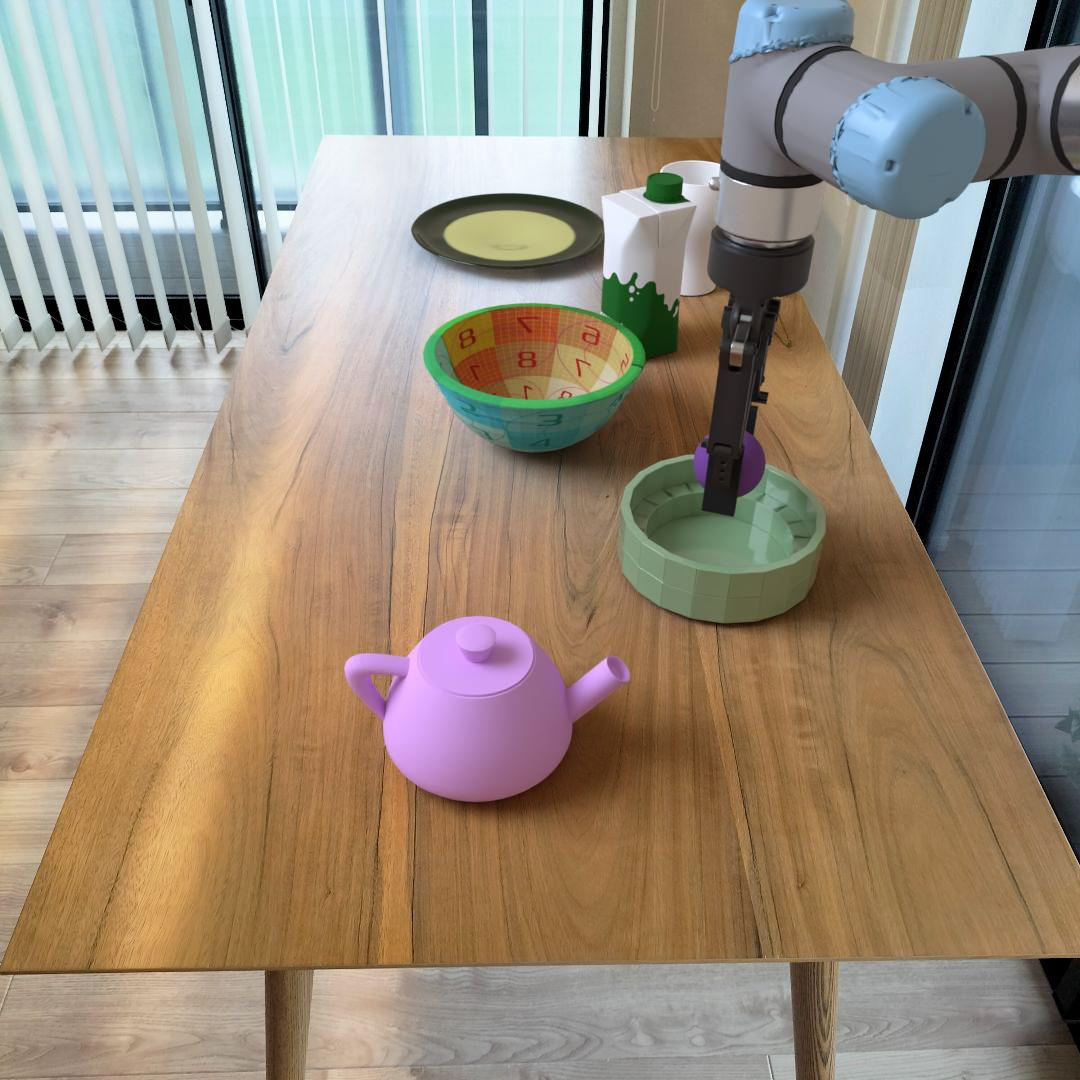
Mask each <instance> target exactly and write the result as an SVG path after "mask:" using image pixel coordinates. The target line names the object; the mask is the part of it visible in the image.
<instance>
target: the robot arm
mask: <svg viewBox="0 0 1080 1080" xmlns="http://www.w3.org/2000/svg"><path fill="white" fill-rule="evenodd" d="M855 15H856V14H855V11H854V8H853V7H852V6H851V4H850V3H849V2H848V0H745V2H744V3H743V4H742V5H741V7H740V10H739V12H738V17H737V22H736V28H735V29H736V30H735V35H734V42H733V49H732V53H731V55H729V59H728V64H729V70H728V80H727V89H726V99H725V109H724V117H723V128H722V138H721V146H720V147H721V148H720V161H719V164H720V170H719V177H712V178H711V180H710V182H709V187H710V189H711V190H714V191H719V194H718V196H717V197H716V204H715V213H714V221H715V223H716V224H717V225H716V226H715V227H714V228H713V230H712V232H711V239H710V247H709V256H708V264H707V273H708V276H709V278H710V279H711V281H712V282H713V283H714V284H716V287H718V288H720V289H722V290H725V291H727V292H728V293H729V296H728V301H727V305H724V307H723V310H722V315H721V321H720V327H721V330H722V335H721V341H720V342H719V344H718V350H719V353H718V369H717V376H716V383H715V392H714V396H713V397H714V398H713V404H712V413H711V419H710V426H709V433H708V434H709V439H706V438H705V437H703V438H702V439H701V441H700V442H701V447H703V448H706V449H707V450H706V452H707V454H709V457H708V465H707V472H706V480H705V488H704V495H703V503H702V510H701V511H706V512H711V513H716V514H721V515H726V516H731V517H734V514H735V509H736V503H737V496H738V490H739V483H740V477H741V471H742V464H743V458H744V451H745V446H744V443H743V441H744V436H745V431H747V432H748V433H750V434H751V435H753V436H754V437H755V430H756V424H757V417H758V412H759V411H758V410H759V405H752V404H753V403H756V404H761V405H767V403H768V399H769V394H770V393H769V391H765V390H764V391H763V390H761V387H763V384H764V383H765V380H766V376H765V371H766V365H767V358H768V352H769V347H770V346H771V344H772V341H773V337H774V333H775V328H776V327H775V326H776V323H777V322H778V319H779V315H780V312H781V305H782V299H780V298H784V297H788V296H791V295H794V294H796V293H797V292H799V291H801V290H802V289H803V288H804V287H805V286H806V284H807V283H808V280H809V278H810V277H809V276H810V272H811V267H812V260H813V254H814V249H815V243H816V240H815V238H814V236H813V235H814V234H815V233H816V232H817V231H818V229H819V224H820V220H821V214H822V208H823V203H824V197H825V193H826V187H827V184H828V185H831V186H832V187H834V188H835V189H836V190H838V191H840V192H842V193H843V194H845V195H847V196H848V197H849V199H851V200H852V201H855V202H856V203H857V204H859V205H861V206H867V208H869V209H871V210H874V211H878V212H879V211H880V212H882V213H885V214H887V215H890V216H891V217H894V218H897V219H901V220H919V219H925V218H928V217H930V216H933V215H935V214H937V213H938V212H939V211H940V209H941V208H943V207H944V206H945V205H947V204H949V203H952V202H954V201H955V200H957V199H958V198H959V197H960V196H961V195H962V194H963V193H964V191H965V190H966V189H967V188H968V187H969V185H970V184H975V183H982V182H988V181H990V180H998V179H1005V178H1006V179H1007V178H1015V177H1023V176H1025V177H1026V176H1033V175H1034V176H1035V175H1036V176H1037V175H1038V176H1039V175H1041V176H1042V175H1047V176H1048V175H1049V176H1068V177H1069V176H1072V177H1073V176H1075V177H1076V176H1077V177H1080V42H1077V43H1070V44H1059V45H1056V46H1055V45H1054V46H1052V47H1045V48H1035V49H1028V50H1021V51H1020V50H1019V51H1011V52H1005V53H997V54H989V55H987V54H984V55H983V54H980V55H975V56H965V57H964V56H963V57H954V58H946V59H945V58H944V59H935V60H927V61H917V62H908V63H907V62H906V63H894V62H887V61H884V60H882V59H879V58H876V57H873V56H869V55H867V54H864V53H862V52H860V51H859V50H857V49H854V48H852V47H851V46H852V44H853V42H854V39H855V35H854V25H855Z"/></svg>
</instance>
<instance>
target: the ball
mask: <svg viewBox="0 0 1080 1080" xmlns="http://www.w3.org/2000/svg"><path fill="white" fill-rule="evenodd" d="M704 438H706V439H709V433H708V434H707V435H706V436H704ZM743 443H744V446H745V451H744V458H743V464H742V471H741V477H740V483H739V490H738V496H737V498H738V497H741V496H744V495H746V494H748V493H749V492H751V491H752V490H753V489H754V488H755V487H756V486H757V485H758V484H759V482H760V481H761V479H762V477H763V474H764V471H765V464H767V463H766V455H765V451H764V449H763V446H762V445H761V443H760V441H758V438H756V437H755V435H754V436H753V435H751V434H750V433H748V432H747V431H745V436H744V441H743ZM706 450H707V449H706V448H703V447H701V441H700V442H699V443H698V445H697V447H696V449H695V452H694V454H695V455H694V454H693V455H694V463H693V466H694V472H695V475H696V478H697V480H698V482H699V483H700V484H701V486H702V487H703V488H705V480H706V472H707V465H708V457H709V454H707V452H706Z"/></svg>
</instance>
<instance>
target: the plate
mask: <svg viewBox="0 0 1080 1080" xmlns="http://www.w3.org/2000/svg"><path fill="white" fill-rule="evenodd" d="M410 233H411V236H412V238H413V239H414V241H415V242H416V244H418V245H419V246H420V247H421V248H422V249H424V250H425V251H426V252H429V253H430V254H432V255H434V256H437V257H438V258H441V259H444V260H447V261H450V262H454V263H456V264H460V265H464V266H469V267H473V268H479V269H489V270H498V271H499V270H500V271H503V270H504V271H522V270H536V269H542V268H549V267H554V266H558V265H562V264H566V263H569V262H572V261H575V260H578V259H581V258H583V257H586V256H588V255H590V254H591V253H593V252H595V251H596V250H598V249H599V248H601V246H602V245H603V243H605V232H604V220H603V218H602V217H601V216H599V215H598V214H597V213H596V212H594V211H592V210H591V209H589V208H587V207H586V206H583V205H581V204H578V203H575V202H573V201H570V200H566V199H562V198H559V197H553V196H548V195H541V194H533V193H521V192H499V193H495V192H494V193H483V194H475V195H474V194H473V195H468V196H462V197H458V198H453V199H450V200H447V201H445V202H441V203H439V204H436V205H435V206H433V207H432V206H431V207H430V208H428V209H427V210H424V211H423V212H422V213H420V214H419V215H418V216H417V217H416V219H415V220H414V221H413V223H412V224H411V227H410Z"/></svg>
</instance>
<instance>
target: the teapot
mask: <svg viewBox="0 0 1080 1080" xmlns="http://www.w3.org/2000/svg"><path fill="white" fill-rule="evenodd" d="M343 671H344V676H345V679H346V682H347V684H348V685H349V688H350V689H351V690H352V693H354V695H356V697H358V699H359V700H360V701H361V702H362V703H363V704H364V705H365V706H366V707H367V708H368V709H369V710H370V711H372V712H373V714H374V715H376V716H377V717H378V718H379V719H380V720H381V721H382V729H383V731H382V732H383V741H384V745H385V748H386V751H387V754H388V755H389V757H390V760H391V761H392V763H393V764H394V765H395V767H396V768H397V769H398V771H399V772H400V773H401V774H402V775H403V776H404V777H405V778H406V779H407V780H408V781H410V782H411V783H412V784H414V785H415V786H416V787H419V788H420V789H422V790H424V791H426V792H429V793H430V794H433V795H436V796H438V797H441V798H445V799H448V800H453V801H458V802H459V801H460V802H466V803H468V802H469V803H470V802H471V803H483V802H484V803H485V802H492V801H498V800H503V799H506V798H507V799H508V798H510V797H513V796H516V795H519V794H521V793H523V792H525V791H528V790H530V789H532V788H533V787H535V786H537V785H539V784H540V783H541V782H542V781H544V780H545V779H547V777H548V776H549V775H550V774H552V773H553V772H554V771H555V770H556V768H557V767H558V766H559V764H560V763H561V762H562V760H563V758H564V757H565V755H566V753H567V751H568V749H569V747H570V743H571V740H572V736H573V735H572V734H573V724H574V723H575V722H577V721H578V720H579V719H580V718H582V717H583V716H584V715H586V714H587V713H588V712H590V711H591V710H592V709H593V708H595V707H596V706H598V705H599V704H600V703H601V702H603V701H604V700H605V699H607V698H608V697H610V696H611V695H612V694H614V692H616V691H617V690H619V689H620V688H621V687H623V686H624V685H626V684H627V683H628V682H629V681H630V680H631V672H630V670H629V668H628V666H627V665H626V663H625V662H624V661H623V660H622V659H621V658H620V657H618V656H616V655H614V654H610V655H608V656H606V657H605V658H604V659H603V660H602V661H600V662H599V663H597V665H596V666H594V667H593V668H592V669H590V670H589V671H588V672H587V673H586V674H584V675H583V676H582V677H581V678H579V679H578V680H576V681H575V682H574V683H573V684H572V685H570V686H569V687H568V688H567V687H566V684H565V681H564V679H563V677H562V675H561V673H560V670H559V669H558V667H557V666H556V664H555V663H554V661H553V660H552V659H551V657H550V656H549V655H548V653H547V652H546V650H544V649H543V648H542V646H541V645H540V644H539V643H537V641H536V640H535V639H534V638H533V637H532V636H530V634H529V633H527V632H526V631H524V630H523V629H521V627H519V626H517V625H516V624H514V623H512V622H510V621H508V620H504V619H501V618H498V617H493V616H484V615H483V616H481V615H475V616H472V615H471V616H465V617H464V616H463V617H458V618H455V619H451V620H448V621H446V622H444V623H441V624H439V625H438V626H436V627H435V628H434V629H432V630H431V631H429V632H428V633H427V634H426V635H425V636H424V637H423V638H421V640H419V641H418V643H417V644H416V645H415V646H414V647H413V648H412V650H411V651H410V652H409V654H408V655H407V656H400V655H394V654H388V653H387V654H386V653H373V652H372V653H371V652H370V653H369V652H367V653H358V654H355V655H353V656H350V658H348V659H347V660H346V662H345V664H344V669H343ZM371 675H388V676H394V677H393V679H392V681H391V684H390V687H389V689H388V692H387V695H386V699H385V698H384V697H383V696H382V694H381V693H380V692H379V690H378V689H377V687H376V686H375V684H374V682H373V680H372V678H371Z"/></svg>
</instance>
